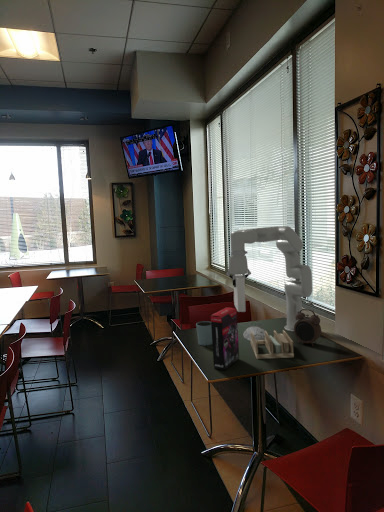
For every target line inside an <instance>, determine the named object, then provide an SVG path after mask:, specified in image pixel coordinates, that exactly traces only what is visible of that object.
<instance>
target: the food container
mask: <svg viewBox="0 0 384 512" xmlns="http://www.w3.org/2000/svg"><path fill="white" fill-rule="evenodd" d="M251 331H252V332H253V335H254V337H255V339H256V341H260V340H265V331H266V330H265V329H264V328H261V327H260V326H254V325H252V326H249V327H247V328H246V329H245V330H244V332H243V333H242V336H243V338H244V339H245V340H247V341H250V342H251Z"/></svg>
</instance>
